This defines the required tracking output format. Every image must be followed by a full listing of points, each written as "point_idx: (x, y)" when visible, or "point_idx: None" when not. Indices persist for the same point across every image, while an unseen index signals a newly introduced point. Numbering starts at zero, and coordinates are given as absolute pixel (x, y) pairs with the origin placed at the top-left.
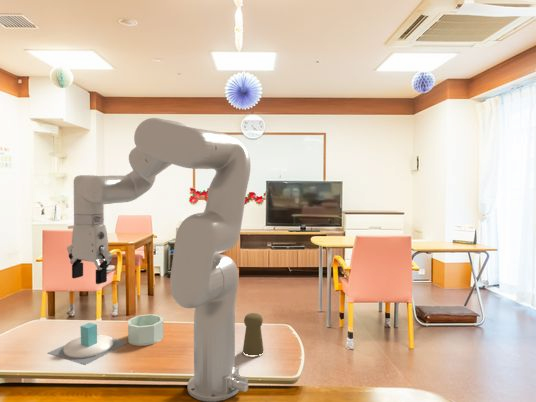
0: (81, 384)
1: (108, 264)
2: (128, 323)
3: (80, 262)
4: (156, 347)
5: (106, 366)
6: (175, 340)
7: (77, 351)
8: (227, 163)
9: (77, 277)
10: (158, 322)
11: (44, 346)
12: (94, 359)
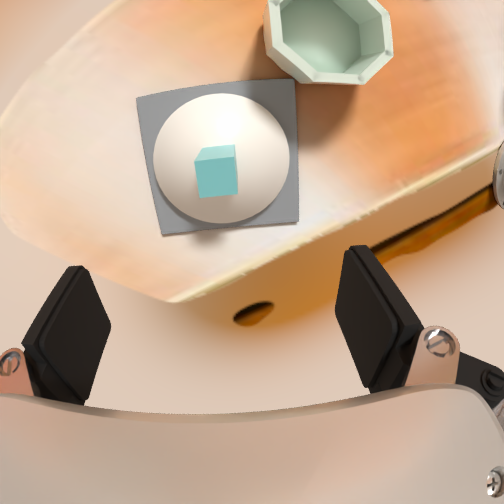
0: None
1: (480, 371)
2: (303, 70)
3: (46, 371)
4: None
5: (340, 195)
6: None
7: (235, 205)
8: None
9: (98, 301)
10: (386, 28)
11: (112, 213)
12: (296, 195)
